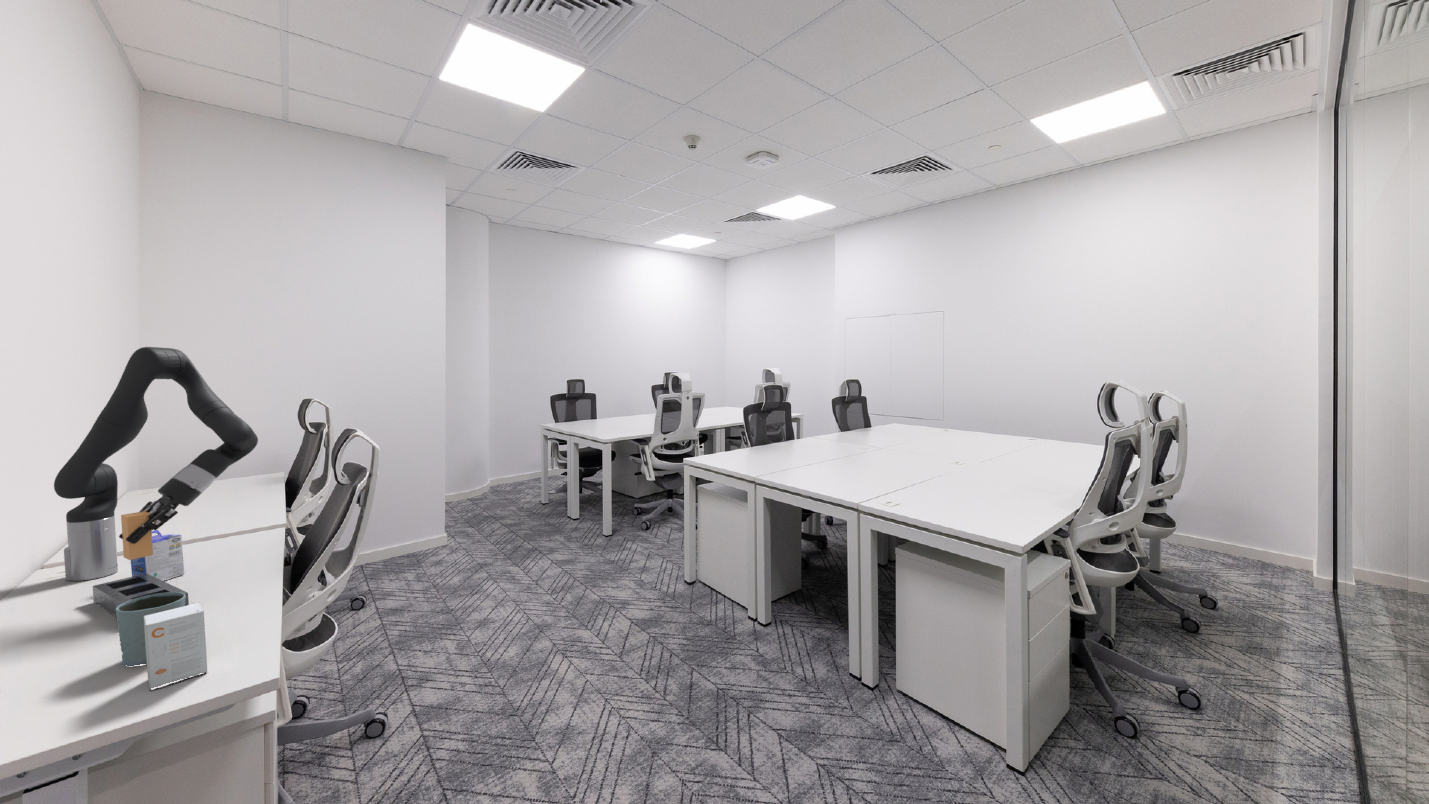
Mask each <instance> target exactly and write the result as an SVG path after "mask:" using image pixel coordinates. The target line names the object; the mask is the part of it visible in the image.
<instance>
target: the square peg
mask: <svg viewBox="0 0 1429 804" xmlns="http://www.w3.org/2000/svg"><path fill="white" fill-rule="evenodd" d="M149 514H150V513H148V512H144V511H143V512H139V511H136V512H132V513H126V514H121V515H120V520H121V522H120V523H121V533H122V537H123V539H122V549H123V550H122V552H123V558H124V559H126V560H128V561H131V560H132V559H137V558H141V557H146V556H151V555H153V546H152V536H153V533H152V531H153V530H152V531H149V532H148V533H147V534H145V535H144V536H143V537H142V538H141V539H140V540H139V541H138V542H137V543H135V544H133V543H130V542H128V541H126V538H127V537H128V536H129V535H130V534H131V533H132V532H134V531H135V530H136V529H137V528H138V527H140V525H141V524H142V523H143V522H144V521H145V520H146V519H147V518H146V517H147V516H148V515H149ZM140 528H141V527H140Z"/></svg>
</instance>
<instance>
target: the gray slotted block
mask: <svg viewBox="0 0 1429 804" xmlns="http://www.w3.org/2000/svg"><path fill="white" fill-rule="evenodd" d="M167 592H181V593H184V594H185V595H186V597H185V606H187V605H190V603H189V593H188V592H187V591H185V590H183V589H181V588H179V587H176V585H175V586H174V585H172V584H170V583H168V582H166V581H162V580H160V579H158V578H156V577H154V576H151V575H149V574H147V573H146V574H141V575H137V576H133V577H132V576H129V577H125V578H120V579H116V580H112V581H108V582H103V583H100V584H99V583H98V584H95V585H92V597H93V598H92V599H93V603H94V604H95V605H97V606H98V607H99V608H102V609H103V610H105V611H106V612H108V613H110V614H111V615H113V616H114V615H115V616H114V617H116V618H117V616H116V610H115V609H116V608H117V607H118V606H119V605H121V604H122V603H125V602H127V601H130V600H133V599H136V598H140V597H143V596H148V595H153V594H159V593H167Z"/></svg>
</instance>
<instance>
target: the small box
mask: <svg viewBox="0 0 1429 804" xmlns="http://www.w3.org/2000/svg"><path fill="white" fill-rule="evenodd" d="M205 626H206V624H205V611H204V610H203V608H202V605H201V603H200V602H196V603H192V604H189V605H187V606H183V607H179V608H175V609H171V610H167V611H163V612H158V613H154V614H150V615H146V616H144V631H145V645H146V660H147V665H146V668H147V669H146V670H147V671H146V672H147V682H148V686H149V687H150V688H149V690H150V689H151V688H154V687H158V686H161V685H163V684H166V683H170V682H174V681H177V680H180V679H185V678H189V677H190V676H195V675H198V674H200V673H205V672H207V673H208V658H207V657H208V656H207V641H206V638H207V637H206V627H205Z"/></svg>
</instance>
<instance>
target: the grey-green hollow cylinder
mask: <svg viewBox="0 0 1429 804" xmlns="http://www.w3.org/2000/svg"><path fill="white" fill-rule="evenodd" d="M185 597H186V595H185V594H184V593H181V592H167V593H159V594H153V595H148V596H143V597H140V598H136V599H133V600H130V601H127V602H125V603H122V604H121V605H119V606H118V607H117V608H116V609H115V610H116V616H117V617H116V616H115V617H116V620H117V621H116V622H117V626H118V633H119V634H118V637H119V643H120V644H119V645H120V651H121V653H122V654H121V659H122V664H123V666H124V665H127V666H134V665H140V664H147V660H146V645H145V631H144V616H146V615H150V614H154V613H158V612H163V611H167V610H171V609H175V608H179V607H183V606H185Z"/></svg>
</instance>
